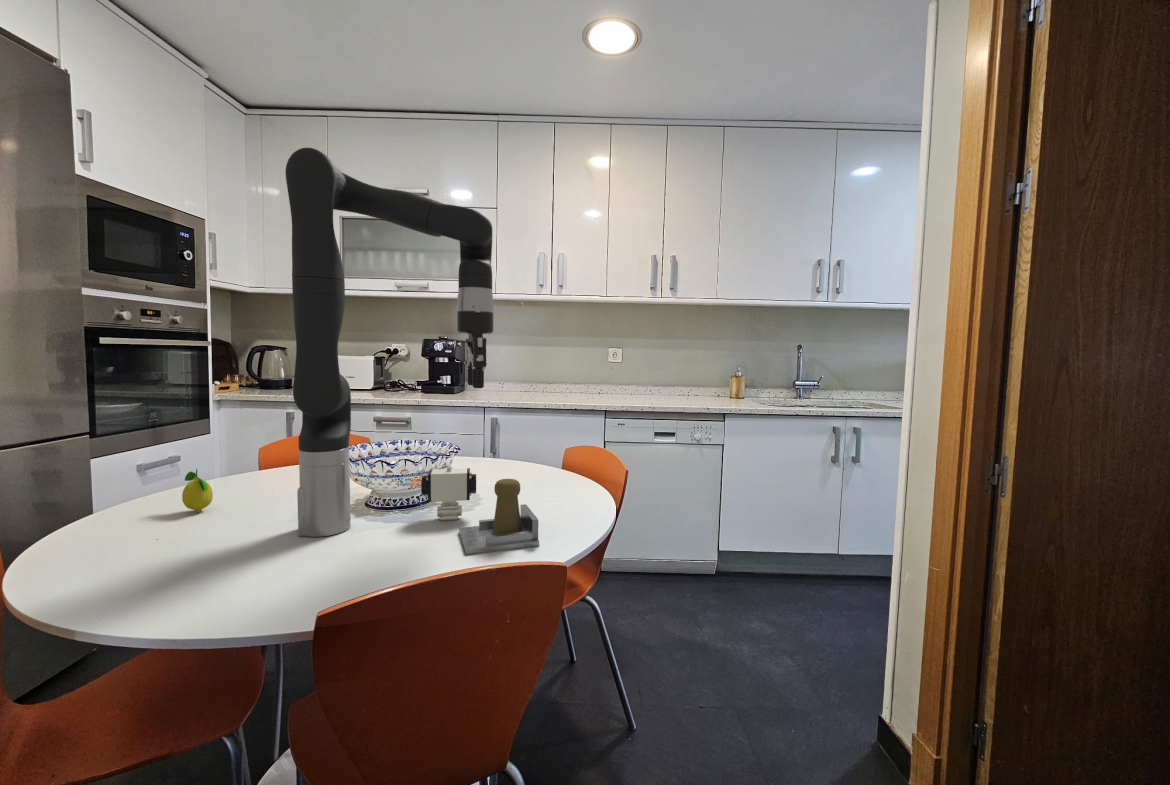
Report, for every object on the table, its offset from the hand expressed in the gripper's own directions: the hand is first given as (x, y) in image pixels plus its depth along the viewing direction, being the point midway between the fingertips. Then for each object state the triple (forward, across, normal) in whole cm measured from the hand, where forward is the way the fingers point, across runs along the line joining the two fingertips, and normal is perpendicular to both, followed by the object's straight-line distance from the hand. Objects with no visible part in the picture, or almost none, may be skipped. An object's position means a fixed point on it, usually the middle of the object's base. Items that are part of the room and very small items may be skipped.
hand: (475, 386), depth 107 cm
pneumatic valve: (+30, -5, -5) cm, 31 cm away
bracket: (+30, +11, +3) cm, 32 cm away
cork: (+29, +11, +5) cm, 32 cm away
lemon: (+30, -26, -59) cm, 71 cm away
